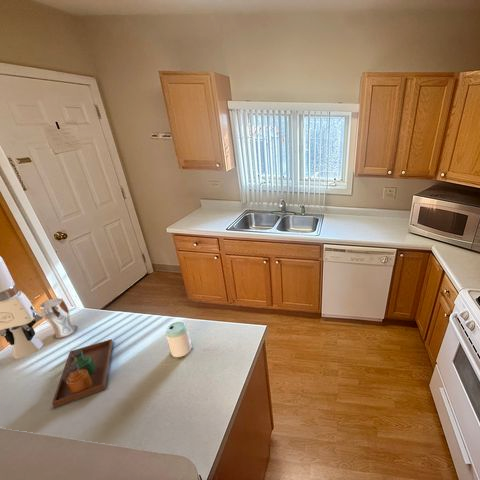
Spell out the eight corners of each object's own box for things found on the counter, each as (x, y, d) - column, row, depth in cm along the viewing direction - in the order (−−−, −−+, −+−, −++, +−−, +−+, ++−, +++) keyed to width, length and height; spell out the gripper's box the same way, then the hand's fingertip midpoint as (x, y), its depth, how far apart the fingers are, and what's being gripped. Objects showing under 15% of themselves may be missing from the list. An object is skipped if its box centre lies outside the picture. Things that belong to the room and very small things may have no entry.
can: (174, 361, 93) (167, 337, 89) (169, 349, 98) (162, 325, 93) (194, 351, 98) (189, 327, 93) (188, 340, 102) (183, 317, 98)
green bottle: (74, 381, 84) (64, 361, 80) (78, 369, 88) (68, 349, 84) (94, 374, 87) (85, 354, 83) (97, 363, 91) (88, 344, 87)
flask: (43, 338, 90) (32, 316, 86) (43, 350, 86) (32, 327, 82) (12, 349, 85) (0, 326, 82) (11, 362, 81) (-3, 338, 77)
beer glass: (66, 339, 101) (51, 309, 95) (48, 338, 101) (32, 308, 95) (81, 326, 107) (68, 297, 101) (65, 325, 107) (51, 296, 101)
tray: (105, 389, 83) (103, 384, 82) (54, 407, 77) (51, 403, 76) (113, 342, 100) (111, 339, 99) (72, 355, 94) (70, 351, 93)
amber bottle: (69, 397, 79) (58, 377, 75) (73, 384, 83) (63, 364, 79) (91, 390, 82) (81, 369, 78) (94, 377, 86) (84, 357, 82)
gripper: (-52, 308, 70) (-21, 357, 77) (32, 293, 78) (53, 338, 85) (-37, 294, 75) (-9, 341, 83) (40, 281, 84) (60, 324, 91)
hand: (22, 339), depth 84 cm, fingers closed on flask, 3 cm apart
